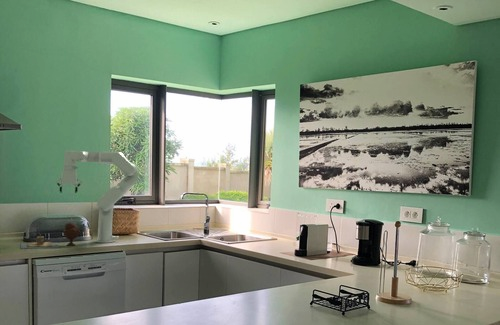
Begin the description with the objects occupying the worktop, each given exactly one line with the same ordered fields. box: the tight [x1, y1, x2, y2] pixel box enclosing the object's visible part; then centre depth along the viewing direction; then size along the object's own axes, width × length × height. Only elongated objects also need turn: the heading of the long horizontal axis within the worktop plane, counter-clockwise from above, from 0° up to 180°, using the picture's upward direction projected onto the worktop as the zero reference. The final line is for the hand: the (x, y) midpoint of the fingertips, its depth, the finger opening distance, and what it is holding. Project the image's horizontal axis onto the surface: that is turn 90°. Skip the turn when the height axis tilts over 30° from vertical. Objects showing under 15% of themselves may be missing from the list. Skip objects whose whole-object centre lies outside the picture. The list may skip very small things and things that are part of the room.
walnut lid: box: [27, 236, 53, 247], centre depth 322 cm, size 14×14×5 cm
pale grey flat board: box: [20, 242, 60, 250], centre depth 322 cm, size 22×18×1 cm
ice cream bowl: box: [62, 222, 81, 247], centre depth 329 cm, size 11×11×15 cm
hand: (68, 192), depth 349 cm, fingers open, 9 cm apart
